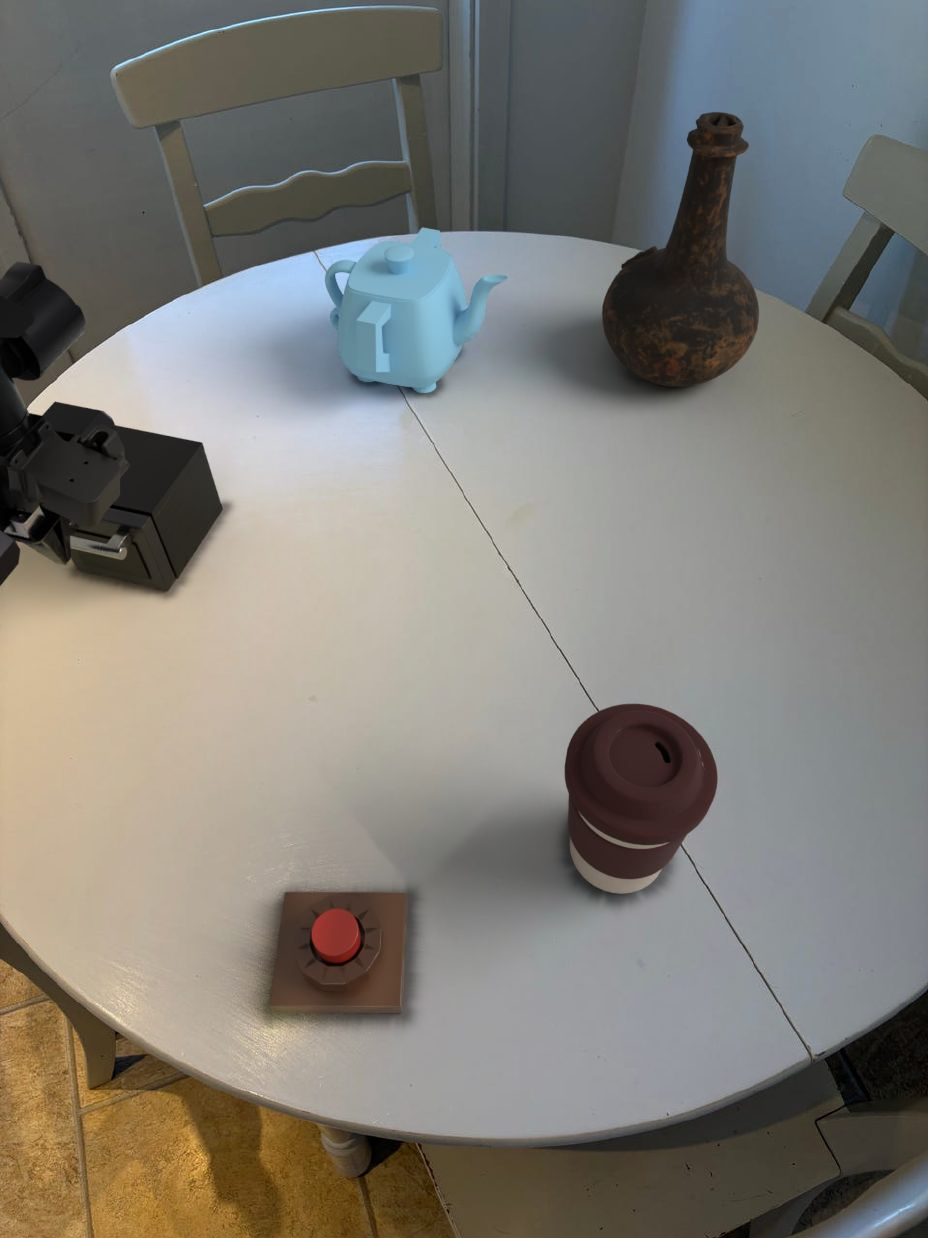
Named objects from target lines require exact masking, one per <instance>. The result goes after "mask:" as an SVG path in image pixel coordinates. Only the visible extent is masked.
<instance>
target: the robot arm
mask: <svg viewBox="0 0 928 1238" xmlns="http://www.w3.org/2000/svg"><path fill="white" fill-rule="evenodd" d="M85 331H86V319H85V315H84V312H83V310H82V308H81V307H80V306H79V305H78V304H76V302H75V301H74V299H73V298H72V297H71V296H70V295H69V294H68V293H67V292H66V291H65V290H64V289H63V288H61V286H59V285H58V284H57V283H55V282H53V281H51V280H50V279H49V278H47V276H46V274H45V271H44V269H43V267H42V265H39V264H35V263H30V262H24V261H18V260H17V261H15V262H14V263H13V264H12V265H11V266H10V267H8V269H7V270H6V272H5V273H4V274H3V276H2V277H1V278H0V587H1V586H2V585H3V584H4V583H5V581H6V580H7V579H8V578H9V576H10V575H11V574H12V573H13V572H14V570H15V569H16V568H17V566H18V565H19V563H20V557H21V547H20V546H19V544H18V543H22V544H24V545H26V546H27V547H29V548H31V549H32V550H33V551H35V552H37V553H39V554H40V555H42V556H43V557H45V558H47V559H48V560H50V561H52V562H53V563H55V564H57V565H61V566H67V565H68V563H69V562H70V561H71V560H72V559H71V546H70V520H72V521H74V522H75V523H76V524H78V525H80V526H83V527H93V526H95V525H97V524H98V523H99V522H100V521H101V520H102V518H103V516H104V514H105V513H106V512H107V510H108V509H109V508H110V506H111V505H112V504H113V502H114V501H116V500H117V499H118V497H119V495H120V478H121V477H122V475H123V474H124V473H125V472H126V470H127V469H128V468H129V466H130V464H129V462H128V461H127V460H125V448H124V446H123V444H122V442H121V440H120V436H119V433H118V431H117V428H116V426H115V425H116V424H115V423H116V422H115V421H114V419H113V417H111V416H110V415H109V414H108V413H106V412H105V411H104V410H101V409H95V408H91V407H85V406H80V405H75V404H70V403H66V402H65V403H64V402H60V401H54V402H52V404H51V405H50V406H49V407H48V408H47V410H45V411H44V412H43V414H42V415H41V414H36V413H33V412H32V413H31V412H29V409H28V407H27V406H26V404H25V402H24V400H23V398H22V396H21V394H20V392H19V389H18V387H17V385H16V384H15V382H14V379H18V380H21V381H26V382H32V381H33V382H34V381H36V380H39V379H40V378H41V377H42V376H44V374H45V373H46V372H47V371H48V370H49V369H50V368H51V367H52V366H53V365H54V364H55V363H56V362H57V361H58V360H59V359H60V358H61V357H62V356H63V355H64V354H65V353H66V352H67V351H68V350H69V349H70V348H71V347H72V346H73V345H74V344H75V343H76V342H77V341H78V340H79V339H80V338H81V337H82V336H83V334H84V333H85ZM17 542H18V543H17Z"/></svg>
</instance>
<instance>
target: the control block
mask: <svg viewBox="0 0 928 1238" xmlns="http://www.w3.org/2000/svg"><path fill="white" fill-rule="evenodd" d="M408 903H409V900H408V895H407V892H399V891H398V892H396V891H395V892H394V891H393V892H390V891H389V892H388V891H387V892H382V891H381V892H380V891H379V892H378V891H377V892H376V891H375V892H373V891H368V892H363V891H362V892H361V891H357V892H356V891H355V892H352V891H349V892H348V891H346V892H345V891H330V892H329V891H285V892H284V895H283V902H282V909H281V917H280V925H279V931H278V938H277V939H278V940H277V944H276V945H277V946H276V952H275V961H274V968H273V974H272V982H271V991H270V998H269V1008H270V1009H271V1010H272V1012H273V1013H277V1014H278V1013H280V1014H281V1013H283V1014H285V1013H287V1014H294V1013H295V1014H403V1011H404V1009H403V1008H404V989H405V988H404V987H405V969H406V968H405V967H406V948H407V946H406V945H407V925H408V908H409V907H408V906H409V905H408ZM331 909H343V910H346V911H348V912H349V913H351V914H352V915H353V916H354V917H355V919H356V921H357V923H358V927H359V930H360V934H361V942H360V946H359V948H358V950H357V952H356V953H355V955H354V956H353V957H351V958H350V959H349V960H347V961H345V962H342V963H329V962H327V961H325V960H323V959H322V958H321V957H320V956H319V955H318V953H317V951H316V949H315V946H314V944H313V941H312V936H311V932H312V927H313V925H314V923H315V921H316V919H317V918H318V917H319V916H320V915H321V914H323V913H324V912H326V911H328V910H331Z"/></svg>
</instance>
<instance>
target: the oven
mask: <svg viewBox="0 0 928 1238" xmlns="http://www.w3.org/2000/svg"><path fill="white" fill-rule="evenodd" d="M115 426H116V428H117V431H118V433H119V436H120V440H121V442H122V444H123V446H124V448H125V460H127V461H128V462H129V464H130V466H129V468H128V469H127V470H126V472H125V473H124V474H123V475H122V477H121V478H120V495H119V497H118V499H117V500H116V501H114V502H113V504H112V505H111V506H110V508H113V509H118V510H123V511H127V512H132V513H136V514H141V515H145V516H150V517H151V519H152V522H153V524H154V527H155V529H156V532H157V534H158V537H159V539H160V542H161V544H162V546H163V549H164V551H165V554H166V556H167V559H168V561H169V564H170V566H171V569H172V571H173V574H174V576H175V579H176V580H177V579H179V578H180V577H181V574H182V573H183V572H184V570H185V568H186V567H187V565H188V564H189V562H190V561H191V559H192V558H193V556H194V555H195V553H196V552H197V550H198V549H199V547H200V546H201V544H202V542H203V541H204V539H206V536H207V535H208V533H209V532H210V530H211V528H212V527H213V525H214V524H215V522H216V521H217V519H218V518H219V516H220V515H221V514H222V513H223V512H222V511H223V510H224V507H223V504H222V502H221V499H220V498H221V497H220V495H219V491H218V489H217V486H216V482H215V479H214V476H213V473H212V469H211V466H210V463H209V460H208V457H207V454H206V450H205V447H204V443H203V442H201V441H198V440H197V441H196V440H192V439H187V438H181V437H177V436H172V435H166V434H162V433H156V432H151V431H146V430H141V429H137V428H132V427H126V426H121V425H117V424H115Z"/></svg>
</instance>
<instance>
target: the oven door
mask: <svg viewBox="0 0 928 1238" xmlns="http://www.w3.org/2000/svg"><path fill="white" fill-rule="evenodd" d="M70 546H71V559H70V560H71V561H72V562H73V564H74V566H75V568H76V570H77V571H79V572H84V573H89V574H91V575H97V576H100V577H105V578H110V579H114V580H116V581H117V580H118V581H122V582H126V583H131V584H135V585H139V586H143V587H148V588H152V589H157V590H161V591H164V592H169V591H170V590H171V588H172V587H173V585H174V583H176V580H177V578H175V576H174V574H173V571H172V569H171V566H170V564H169V561H168V559H167V556H166V554H165V551H164V549H163V546H162V544H161V542H160V539H159V537H158V534H157V532H156V529H155V527H154V524H153V522H152V519H151V517H150V516H145V515H141V514H136V513H132V512H127V511H123V510H118V509H113V508H109V509H108V510H107V512H106V513H105V514H104V516H103V518H102V520H101V521H100V522H99V523H98V524H97V525H95V526H93V527H83V526H80V525H78V524H76V523H75V522H74V521H72V520H70Z"/></svg>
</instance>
